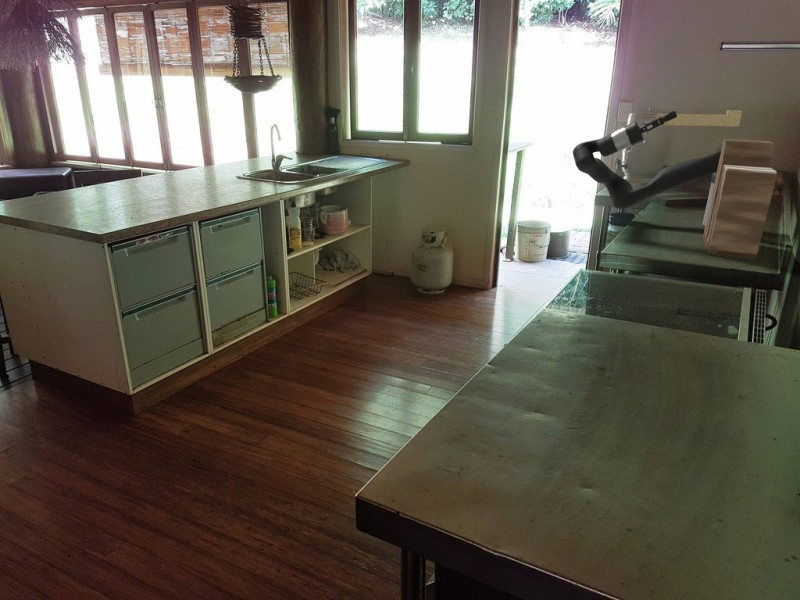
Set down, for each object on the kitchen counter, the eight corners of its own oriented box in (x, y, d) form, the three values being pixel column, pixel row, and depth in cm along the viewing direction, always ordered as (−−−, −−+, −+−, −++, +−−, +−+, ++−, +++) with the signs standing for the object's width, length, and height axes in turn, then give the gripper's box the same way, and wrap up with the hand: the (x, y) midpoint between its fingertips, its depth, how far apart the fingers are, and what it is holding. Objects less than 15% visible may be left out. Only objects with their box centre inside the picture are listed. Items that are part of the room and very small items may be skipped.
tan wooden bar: (655, 124, 207) (657, 109, 205) (737, 125, 197) (740, 110, 195) (655, 125, 202) (657, 110, 201) (739, 126, 193) (742, 110, 191)
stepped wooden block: (702, 237, 215) (723, 138, 203) (744, 242, 210) (769, 141, 198) (708, 254, 193) (732, 144, 180) (755, 260, 188) (783, 147, 175)
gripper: (631, 144, 216) (679, 122, 207) (630, 147, 204) (680, 124, 195) (624, 126, 215) (671, 103, 206) (622, 128, 203) (672, 104, 194)
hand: (675, 113), depth 201 cm, fingers closed on tan wooden bar, 3 cm apart
